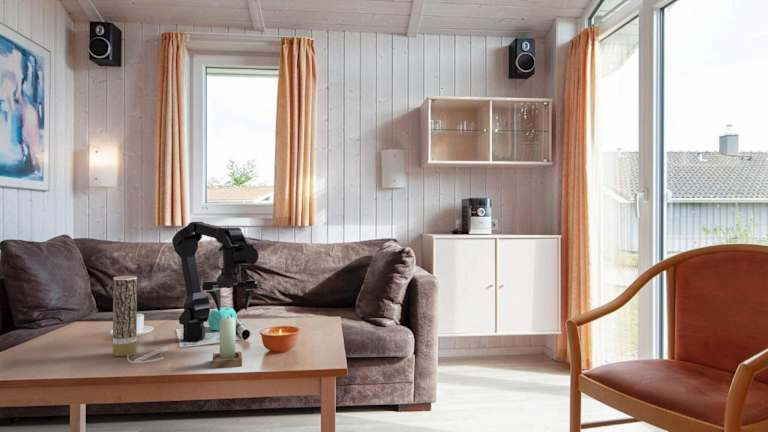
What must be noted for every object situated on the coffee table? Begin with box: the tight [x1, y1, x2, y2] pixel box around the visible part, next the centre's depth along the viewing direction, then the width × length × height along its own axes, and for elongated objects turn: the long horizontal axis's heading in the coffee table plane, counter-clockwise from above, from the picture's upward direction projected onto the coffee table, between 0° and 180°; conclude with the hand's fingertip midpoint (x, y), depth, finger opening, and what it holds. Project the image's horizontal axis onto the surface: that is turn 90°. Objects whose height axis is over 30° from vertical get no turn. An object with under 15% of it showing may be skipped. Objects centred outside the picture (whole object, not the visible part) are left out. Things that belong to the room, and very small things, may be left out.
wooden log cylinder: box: [112, 275, 138, 357], centre depth 161 cm, size 7×7×25 cm
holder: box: [211, 351, 243, 369], centre depth 152 cm, size 8×8×2 cm
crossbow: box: [126, 345, 169, 364], centre depth 159 cm, size 16×13×2 cm
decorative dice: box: [207, 306, 238, 332], centre depth 198 cm, size 8×8×8 cm
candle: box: [219, 316, 237, 360], centre depth 152 cm, size 5×5×13 cm
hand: (232, 310), depth 169 cm, fingers open, 9 cm apart
